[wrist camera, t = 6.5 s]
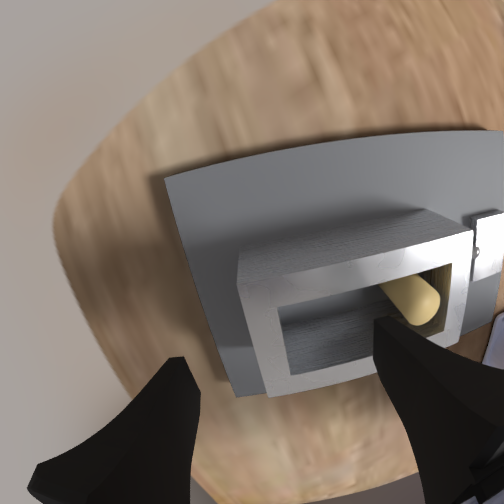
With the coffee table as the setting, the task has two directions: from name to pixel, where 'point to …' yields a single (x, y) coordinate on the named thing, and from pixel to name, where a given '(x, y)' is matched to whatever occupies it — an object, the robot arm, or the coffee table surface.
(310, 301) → the board
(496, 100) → the coffee table surface
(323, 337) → the steel link
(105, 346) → the coffee table surface
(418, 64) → the coffee table surface
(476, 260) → the chain anchor
